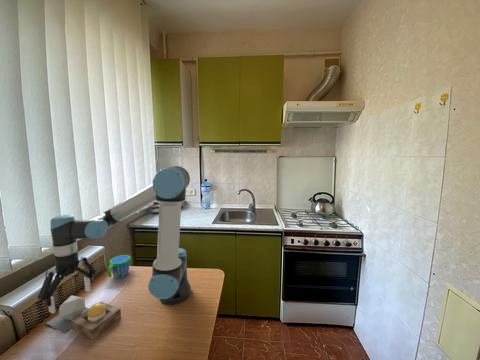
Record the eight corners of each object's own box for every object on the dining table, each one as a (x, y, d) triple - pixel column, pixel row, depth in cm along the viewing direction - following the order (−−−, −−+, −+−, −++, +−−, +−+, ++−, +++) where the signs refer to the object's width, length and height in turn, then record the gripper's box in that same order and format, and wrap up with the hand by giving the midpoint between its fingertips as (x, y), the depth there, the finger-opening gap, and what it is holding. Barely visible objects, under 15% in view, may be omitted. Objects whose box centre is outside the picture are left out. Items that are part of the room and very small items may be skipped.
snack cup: (115, 285, 111) (114, 267, 110) (101, 280, 115) (100, 263, 114) (138, 270, 126) (138, 254, 125) (126, 267, 130) (125, 251, 129)
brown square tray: (120, 317, 89) (120, 308, 89) (92, 339, 78) (91, 330, 78) (101, 309, 94) (100, 301, 93) (71, 330, 82) (71, 320, 82)
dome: (109, 318, 87) (108, 301, 87) (94, 329, 82) (93, 311, 81) (99, 314, 90) (98, 298, 89) (84, 324, 84) (83, 307, 83)
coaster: (95, 312, 92) (95, 310, 92) (64, 333, 81) (64, 331, 81) (77, 305, 96) (77, 303, 96) (46, 324, 85) (46, 323, 85)
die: (91, 313, 91) (88, 290, 95) (75, 318, 83) (73, 292, 87) (71, 322, 90) (69, 298, 94) (53, 328, 82) (52, 301, 86)
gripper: (91, 240, 98) (95, 282, 101) (20, 266, 75) (28, 320, 78) (102, 242, 96) (106, 285, 98) (32, 270, 73) (39, 325, 75)
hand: (71, 301), depth 88 cm, fingers open, 13 cm apart
